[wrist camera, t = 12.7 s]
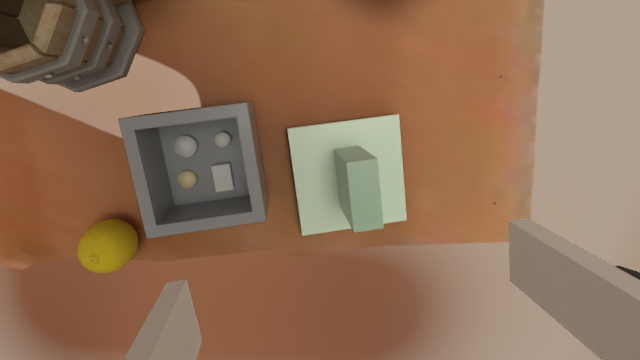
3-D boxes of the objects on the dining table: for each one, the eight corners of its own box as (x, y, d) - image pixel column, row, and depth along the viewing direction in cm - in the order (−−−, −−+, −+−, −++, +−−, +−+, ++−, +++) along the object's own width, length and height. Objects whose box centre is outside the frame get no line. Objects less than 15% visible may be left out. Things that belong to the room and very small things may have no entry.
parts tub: (146, 114, 44) (118, 118, 36) (252, 100, 45) (246, 102, 37) (169, 214, 47) (146, 238, 39) (268, 200, 48) (266, 221, 40)
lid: (287, 127, 46) (288, 138, 36) (394, 113, 47) (427, 119, 36) (301, 230, 49) (307, 268, 39) (401, 215, 50) (434, 248, 39)
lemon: (95, 212, 46) (57, 237, 38) (143, 208, 47) (115, 231, 39) (104, 256, 47) (69, 288, 40) (151, 251, 48) (126, 282, 40)
